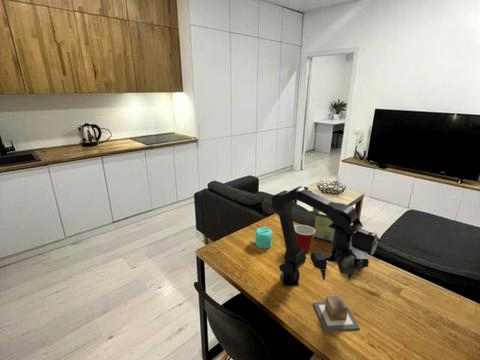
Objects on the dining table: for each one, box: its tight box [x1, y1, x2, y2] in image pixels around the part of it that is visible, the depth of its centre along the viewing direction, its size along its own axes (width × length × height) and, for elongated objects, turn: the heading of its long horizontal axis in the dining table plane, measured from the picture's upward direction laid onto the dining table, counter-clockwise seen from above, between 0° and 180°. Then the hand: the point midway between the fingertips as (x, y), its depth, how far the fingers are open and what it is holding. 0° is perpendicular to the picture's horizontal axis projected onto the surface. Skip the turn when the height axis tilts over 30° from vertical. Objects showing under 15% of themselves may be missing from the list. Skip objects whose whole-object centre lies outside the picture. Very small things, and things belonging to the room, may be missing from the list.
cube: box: [325, 295, 349, 321], centre depth 92 cm, size 6×6×6 cm
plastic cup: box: [294, 224, 316, 254], centre depth 130 cm, size 11×11×12 cm
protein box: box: [313, 210, 335, 244], centre depth 139 cm, size 10×16×16 cm
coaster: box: [312, 301, 361, 332], centre depth 93 cm, size 12×12×1 cm
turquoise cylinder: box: [254, 226, 273, 249], centre depth 135 cm, size 8×8×8 cm
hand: (336, 278), depth 94 cm, fingers open, 9 cm apart
